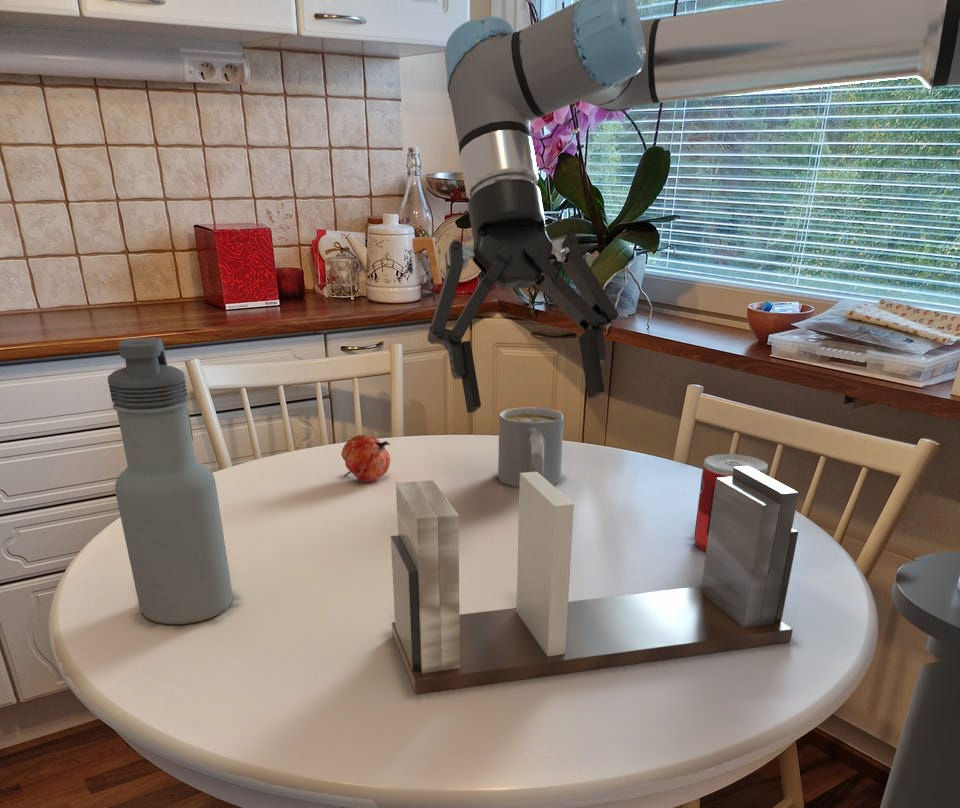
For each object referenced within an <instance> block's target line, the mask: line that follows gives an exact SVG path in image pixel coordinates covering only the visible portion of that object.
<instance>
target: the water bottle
mask: <svg viewBox="0 0 960 808" xmlns="http://www.w3.org/2000/svg"><path fill="white" fill-rule="evenodd" d="M117 345H118V350H119V356H120V359H124V362H125V367H121V368H119V369H116V370H114V371H112V372H111V373H110V374H109V375H108V376H107V383H108V389H109V393H110V398H111V403H113V404H112V408H113V409H114V411H116V414H117V419H118V424H119V430H120V434H121V440H122V444H123V449H124V454H125V461H126V465H127V466H126V468H125V469H124V470H123V471H121V472H120V474H119V475H118V477H117V478H116V481H115V484H114V490H115V491H114V492H115V496H116V497H115V498H116V502H117V506H118V512H119V516H120V521H121V526H122V530H123V535H124V539H125V545H126V550H127V554H128V559H129V564H130V569H131V573H132V578H133V584H134V587H135V592H136V597H137V601H138V607H139V609H140V612H141V613H142V614H143V616H144V617H146V618H147V619H149V620H150V621H153V622H155V623H160V624H165V625H189V624H195V623H199V622H203V621H206V620H210V619H211V618H214V617H216V616H218V615H220V614H221V613H223V612H224V611H225V610H227V608H229V606H230V605H231V603H232V600H233V595H234V593H233V587H232V580H231V574H230V569H229V560H228V555H227V549H226V542H225V536H224V529H223V522H222V515H221V509H220V502H219V495H218V489H217V483H216V478H215V476H214V474H213V472H212V470H211V469H210V468H208V467H207V466H206V465H205V464H203V463H201V462H199V461H198V460H197V458H196V453H195V448H194V435H193V429H192V423H191V416H190V410H189V408H188V405H189V404H190V400H189V398H188V397H189V393H188V389H187V384H186V383H187V381H186V376H185V375H186V374H185V372H184V371H183V370H181V369H179V368H177V367H176V366H173V365H168V359H167V355H166V351H165V347H164V343H163V340H162V337H141V338H140V337H139V338H123V339H122V340H121V341H120V342H119V343H118V344H117Z"/></svg>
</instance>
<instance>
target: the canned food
mask: <svg viewBox="0 0 960 808" xmlns="http://www.w3.org/2000/svg"><path fill="white" fill-rule="evenodd" d="M743 466H749V467H751V468H753V469H755V470H757V471H759V472H761V473H763V474H764V475H766V476H768V469H769V468H768V467H769V464H768V463H767V462H766V461H764V460H762V459H759V458H757V457H753V456H749V455H745V454H736V453H720V454H714V455H713V454H712V455H709V456H707V457H706V458H705V459H704V461H703V465H702V472H701V480H700V488H699V495H698V496H699V497H698V503H697V510H696V511H697V512H696V518H695V526H694V533H693V534H694V535H693V537H694V538H693V539H694V543H695V545H696V547H698V549H700V550H702V551H704V552H706V549H707V542H708V535H709V527H710V520H711V513H712V506H713V499H714V491H715V484H716V478H722V477H732V473H733V468H734V467H743Z"/></svg>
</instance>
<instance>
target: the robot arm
mask: <svg viewBox="0 0 960 808" xmlns="http://www.w3.org/2000/svg"><path fill="white" fill-rule="evenodd" d="M444 60H445V70H446V79H447V82H446V84H447V85H446V90H447V93H448V98H449V101H450V105H451V112H452V116H453V123H454V128H455V134H456V139H457V144H458V153H459V157H460V158H459V159H460V166H461V171H462V178H463V183H464V189H465V196H466V197H467V198H468V202H467V210H468V216H469V222H470V229H471V234H472V239H473V245H465V244H462V242H460V241H459V240H457V239H456V240H455V239H454V240H453V241H451V243H450V244H449V246H448V248H447V250H446V251H445V253H444V257H445V275H444V279H443V282H442V285H441V289H440V292H439V295H438V298H437V301H436V302H437V303H436V306H435V310H434V312H433V315H432V319H431V323H430V326H429V329H428V333H427V338H426V339H427V341H428V343H430V344H431V345H436V344H437V345H441V346H443V347H444V349H445V350H446V351H447V355H448V360H449V365H450V371H451V376H452V377H453V379H454V380H461V382H462V388H463V389H462V390H463V395H464V401H465V406H466V413H467V414H469V413H475V412H477V410H478V409H480V408H481V407H482V403H481V396H480V390H479V385H478V379H477V373H476V366H475V361H474V354H473V349H472V342H471V340H466V341H462V339H463V337H464V336H465V334H466V333H467V331H468V329H469V328H470V326H471V324H472V322H473V320H474V319H475V317H476V315H477V314H478V312H479V310H480V309H481V307H482V305H483V304H484V302H485V300H486V298H487V296H488V295H489V293H490V292H491V290H492V288H493V287H494V286H495V287H496V288H498V289H500V291H508V290H510V289H513V288H518V289H529V288H530V287H532V286H534V287H536V288H537V290H539V292H541V293H545V294H546V295H547V296H548V297H549V298H550V299H551V300H552V301H553V302H554V303H555V304H556V305H557V306H558V307H559V308H560V309H561V310H562V311H563V312H564V313H565V314H566V315H567V317H569V318H570V319H571V320H572V321H573V322H574V324H576V325H577V326H578V327H579V328H580V329H581V330H582V331H583V333H582V334H580V335H579V336H578V342H579V347H580V348H579V349H580V356H581V361H582V367H583V373H584V380H585V387H586V394H587V399H594V398H597V397H598V396H599V395H601V394H603V393H605V384H604V378H603V371H602V365H601V363H603V362H605V361H606V359H607V350H606V342H605V338H604V328H607V327H608V326H610V325H611V324H612V323H613V322H614V321H615V320H617V319H618V317H619V312H618V311H617V308H616V307H615V305H614V304H613V302H612V301H611V299H610V297H609V296H608V294H607V292H606V291H605V290H604V288H603V286H602V285H601V283H600V282H599V280H598V278H597V277H596V275H595V273H594V272H593V270H592V269H591V267H590V266H589V264H588V262H587V261H586V259H585V257H584V256H583V254H582V252H581V248H580V244H579V241H578V236H577V235H576V233H574V232H568V233H567V235H565V237H563V238H557V239H552V240H551V239H550V237H549V236H548V234H547V230H546V221H545V213H544V206H543V201H542V194H541V189H540V187H539V186H538V183H539V174H538V173H539V172H538V168H537V162H536V161H537V160H536V155H535V149H534V144H533V136H532V132H531V131H532V130H531V122H533V121H534V120H537V119H540V118H543V117H545V116H547V115H549V114H552V113H553V112H555V111H558V110H561V109H563V108H565V107H568V106H570V105H573V104H575V103H577V102H582V103H586V104H589V105H593V106H595V107H598V108H599V109H601V110H603V111H606V112H625V111H629V110H631V109H633V108H635V107H638V106H639V107H641V106H651V105H656V104H662V103H663V104H665V103H673V102H683V101H692V100H694V101H695V100H701V99H712V98H713V99H714V98H721V97H723V98H724V97H731V96H741V95H742V96H743V95H751V94H753V95H754V94H761V93H773V92H782V91H791V90H801V89H809V88H819V87H820V88H822V87H830V86H840V85H841V86H842V85H849V84H850V85H851V84H860V83H868V82H870V83H871V82H879V81H888V80H889V81H890V80H898V79H908V78H917V79H918V80H920V81H921V82H922V84H923V85H924V86H925V87H926V89H933V88H942V87H943V88H944V87H955V86H957V87H958V86H960V0H778V1H771V2H770V1H769V2H764V3H763V2H762V3H757V4H749V5H743V6H737V7H730V8H729V7H728V8H721V9H714V10H707V11H701V12H694V13H687V14H686V13H685V14H680V15H673V16H672V15H671V16H666V17H661V18H655V19H654V18H653V19H645V20H641V17H640V14H639V10H638V7H637V4H636V2H635V0H578V1H575V2H574V3H571V4H570V5H568V6H566V7H564V8H562V9H559V10H558V11H556V12H554V13H552V14H550V15H548V16H546V17H544V18H542V19H540V20H538V21H536V22H534V23H533V24H530V25H528V26H526V27H524V28H522V29H520V30H518V31H515V29H514V27H513V26H512V24H510V22H509V21H508V20H505V19H504V18H502V17H498V16H492V15H489V16H484V17H483V18H481V19H476V18H472V19H470V20H467V21H466V22H463V23H462V24H460V25H459V26H458V27H456V28H455V29H454V30H453V31H452V33H451V34H450V35H449V37H448V39H447V41H446V45H445V48H444ZM551 255H554V256H555V257H556V261H557V262H559V263H560V262H561V264H562V267H563V269H564V271H565V273H566V275H567V276H568V278H569V279H570V280H571V282H572V284H573V285H574V287H575V288H576V290H577V291H578V292H577V291H576V290H575V289H574V288H573V287H572V286H571V285H570V284H568V282H567V281H566V280H565V279H564V278H563V276H561V275H560V271H559V270H558V268H557V267H556V266H555V265H553V263H551V262H550V260H549V259H550V257H551ZM471 260H472V261H473V263H474V265H476V267H477V268H478V269H479V270H480V271H481V272H482V273H483V276H482V277H481V279H480V281H479V283H478V284H477V286H476V288H475V290H474V292H473V293H472V295H471V296H470V298H469V300H468V302H467V303H466V305H465V306H464V308H463V310H462V312H461V314H460V315H459V316H458V318H457V320H456V322H455V323H454V325H453V326H452V328H451V329H449V328H446V326H447V323H448V320H449V317H450V312H451V309H452V306H453V304H454V303H453V302H454V299H455V296H456V293H457V289H458V285H459V282H460V279H461V275H462V272H463V270H465V269H466V267H467V266H468V265H469V262H470V261H471ZM578 293H579V294H578ZM958 589H959V591H960V578H959V581H958Z"/></svg>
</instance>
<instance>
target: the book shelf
mask: <svg viewBox="0 0 960 808" xmlns="http://www.w3.org/2000/svg"><path fill="white" fill-rule="evenodd" d="M395 496H396V497H395V498H396V516H397V518H396V521H397V535H391V536H390V547H391V548H390V550H391V551H390V552H391V568H392V569H391V570H392V589H393V610H394V622H392V623H391V629H392V630H391V631H392V632H391V633H392V637H393V640H394V642H395V644H396V645H395V646H396V648H397V650H398V653H399V655H400V658H401V661H402V663H403V666H404V668H405V671H406V673H407V677H408V679H409V681H410V684H411V686H412V689H413V692H414V694H415V695H420V694H427V693H433V692H440V691H441V692H442V691H448V690H455V689H462V688H470V687H478V686H484V685H492V684H499V683H505V682H512V681H519V680H528V679H534V678H535V679H536V678H542V677H548V676H556V675H563V674H570V673H578V672H586V671H591V670H598V669H607V668H613V667H614V668H615V667H620V666H621V667H622V666H629V665H635V664H641V663H642V664H643V663H649V662H657V661H663V660H672V659H679V658H686V657H693V656H700V655H706V654H715V653H722V652H728V651H736V650H743V649H751V648H757V647H758V648H759V647H764V646H765V647H766V646H772V645H778V644H779V645H781V644H785V643H791V641H792V636H793V631H794V628H792V627H790V626H789V625H788V624H787V623H785V621H783V614H784V610H785V605H786V599H787V594H788V588H789V584H790V579H791V573H792V569H793V563H794V558H795V552H796V547H797V542H798V536H799V531H798V530H797V529H795V528H793V525H794V521H795V515H796V510H797V504H798V499H799V492H798V491H796V490H795V489H793V488H791V487H789V486H787V485H785V484H784V483H781V482H780V481H778V480H777V479H774V478H772V477H770V476H768V475H767V476H766V475H764V474H763V473H761V472H759V471H757V470H755V469H753V468H751V467H749V466H743V467H734V468H733V473H732V477H722V478H716V484H715V491H714V499H713V506H712V513H711V520H710V527H709V535H708V542H707V549H706V551H705V558H704V563H703V564H704V565H703V570H702V579H701V585H699V586H690V587H689V586H688V587H680V588H672V589H665V590H657V591H655V590H654V591H648V592H639V593H630V594H622V595H613V596H605V597H596V598H589V599H579V600H572V601H568V614H567V631H566V649H565V654H562V655H555V656H547V655H546V653H545V652H544V650H543V649H542V648H541V646H540V645H539V643H538V642H537V640H536V639H535V638H534V636H533V635H532V633H531V632H530V630H529V629H528V628H527V626H526V625H525V623H524V622H523V620H522V619H521V618H520V616H519V615H518V613H517V612H516V607H510V608H504V609H494V610H487V611H479V612H477V611H476V612H469V613H460V536H459V533H460V532H459V531H460V530H459V525H460V524H459V521H460V519H459V516H460V515H459V514H458V513H457V511H456V510H455V508H454V507H453V506H452V504H451V503H450V502H449V500H448V499H447V497H446V496H445V494H444V493H443V492H442V491H441V489H440V488H439V486H438V484H436V482H435V481H434V480H433V479H431V480H418V481H403V482H402V481H401V482H395Z"/></svg>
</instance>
